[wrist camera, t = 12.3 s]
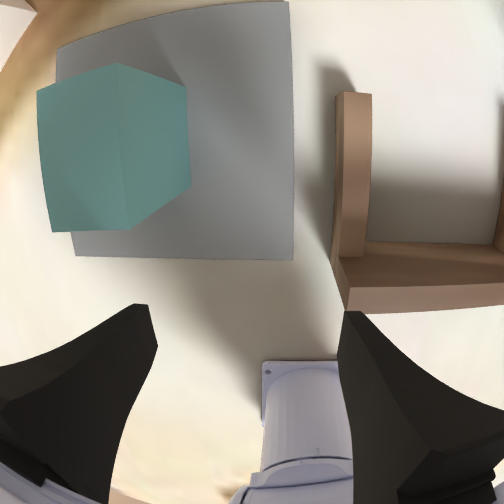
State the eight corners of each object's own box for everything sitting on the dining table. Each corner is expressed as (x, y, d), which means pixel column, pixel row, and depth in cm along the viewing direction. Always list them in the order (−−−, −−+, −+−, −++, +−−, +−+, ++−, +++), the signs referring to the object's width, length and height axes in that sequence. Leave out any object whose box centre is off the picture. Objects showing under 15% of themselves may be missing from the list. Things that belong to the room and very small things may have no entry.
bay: (500, 262, 18) (542, 299, 12) (329, 262, 19) (346, 314, 14) (518, 132, 14) (572, 143, 8) (335, 96, 15) (361, 80, 10)
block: (191, 186, 17) (130, 229, 10) (132, 189, 18) (52, 232, 11) (186, 87, 15) (116, 62, 8) (125, 97, 16) (36, 91, 8)
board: (292, 254, 19) (292, 260, 19) (81, 252, 21) (75, 256, 20) (288, 6, 13) (288, 1, 13) (63, 50, 15) (57, 48, 14)
